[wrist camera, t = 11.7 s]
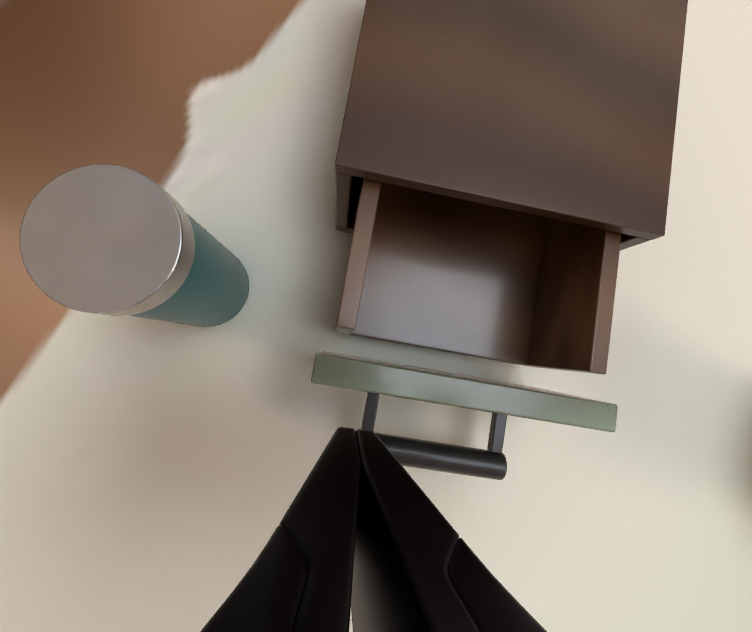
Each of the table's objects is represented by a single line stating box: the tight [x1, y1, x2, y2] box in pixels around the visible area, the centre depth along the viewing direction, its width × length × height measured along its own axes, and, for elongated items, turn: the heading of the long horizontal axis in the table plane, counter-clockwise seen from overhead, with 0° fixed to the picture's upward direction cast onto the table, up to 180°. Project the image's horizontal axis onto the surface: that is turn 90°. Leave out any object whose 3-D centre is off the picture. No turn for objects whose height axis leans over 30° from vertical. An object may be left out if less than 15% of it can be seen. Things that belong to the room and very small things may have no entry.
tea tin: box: [20, 164, 249, 326], centre depth 17 cm, size 5×5×10 cm
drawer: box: [311, 178, 621, 480], centre depth 19 cm, size 18×13×7 cm
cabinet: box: [335, 0, 688, 250], centre depth 20 cm, size 15×14×8 cm
